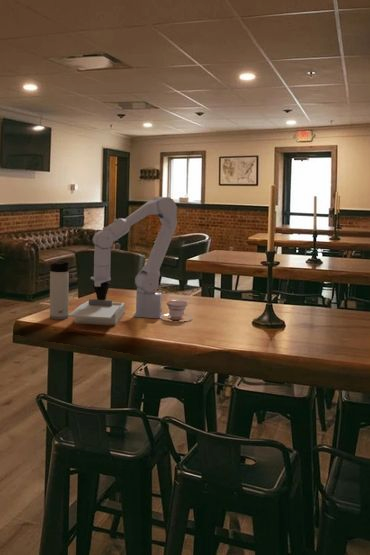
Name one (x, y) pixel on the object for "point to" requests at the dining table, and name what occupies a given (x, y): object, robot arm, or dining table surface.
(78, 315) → the lid
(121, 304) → the box
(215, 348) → the dining table surface
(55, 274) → the travel mug
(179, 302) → the teacup
